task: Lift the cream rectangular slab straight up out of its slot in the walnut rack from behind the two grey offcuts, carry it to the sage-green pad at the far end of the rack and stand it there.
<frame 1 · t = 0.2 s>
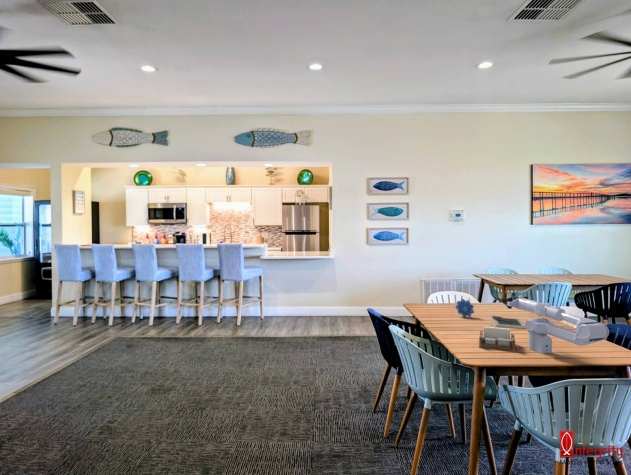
hand: (508, 300, 209), 21 cm above the table, tool horizontal, fingers open, 7 cm apart
rack: (496, 346, 198), on the table
cream rectangular slab: (496, 343, 200), point 1 cm above the table, touching rack
offcut b: (490, 347, 194), point 1 cm above the table, touching rack
offcut a: (503, 348, 192), point 1 cm above the table, touching rack
blue flower: (464, 317, 263), on the table
square clock: (507, 325, 246), on the table
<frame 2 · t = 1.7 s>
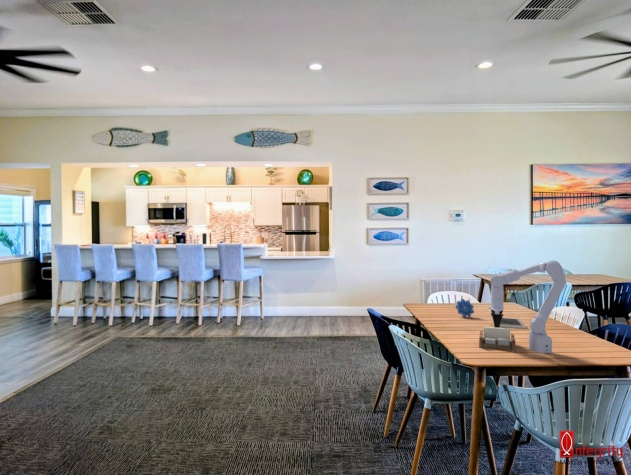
hand: (496, 325, 200), 10 cm above the table, tool pointing down, fingers open, 7 cm apart
nothing on the table moved.
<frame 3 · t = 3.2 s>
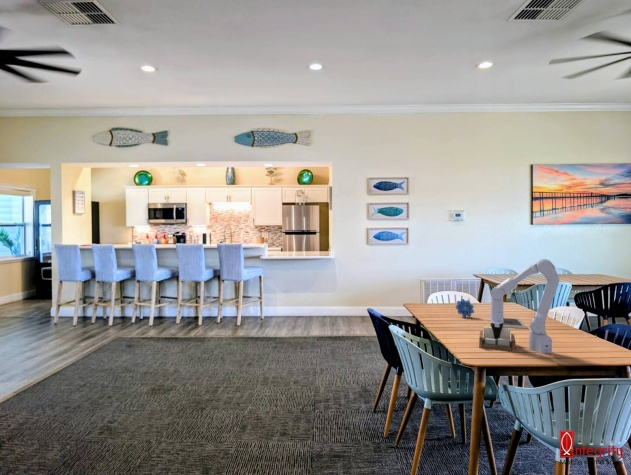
hand: (496, 338, 200), 4 cm above the table, tool pointing down, fingers closed on cream rectangular slab, 2 cm apart
cream rectangular slab: (496, 343, 200), point 1 cm above the table, touching gripper, rack
everything else where it was.
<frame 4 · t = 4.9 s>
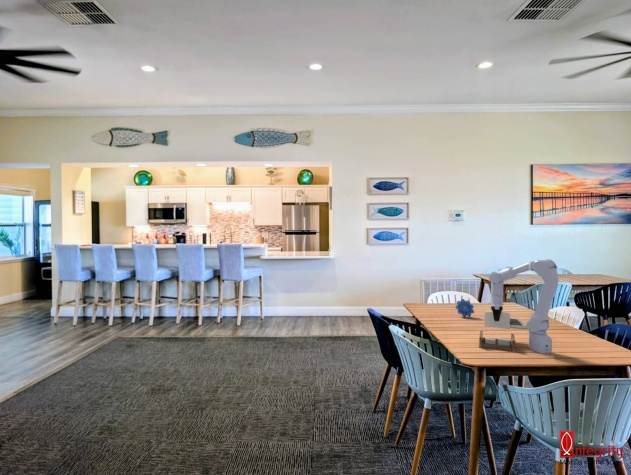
hand: (496, 320, 209), 10 cm above the table, tool pointing down, fingers closed on cream rectangular slab
cream rectangular slab: (496, 327, 209), point 7 cm above the table, touching gripper
everything else where it was.
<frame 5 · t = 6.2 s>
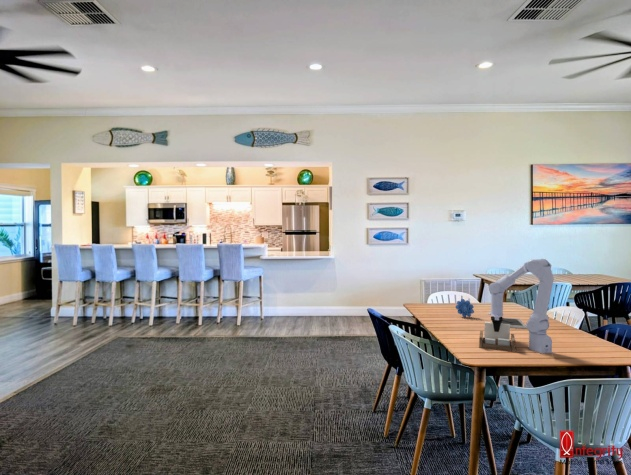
hand: (496, 331, 209), 5 cm above the table, tool pointing down, fingers closed on cream rectangular slab, 2 cm apart
cream rectangular slab: (496, 338, 209), point 1 cm above the table, touching gripper
everything else where it was.
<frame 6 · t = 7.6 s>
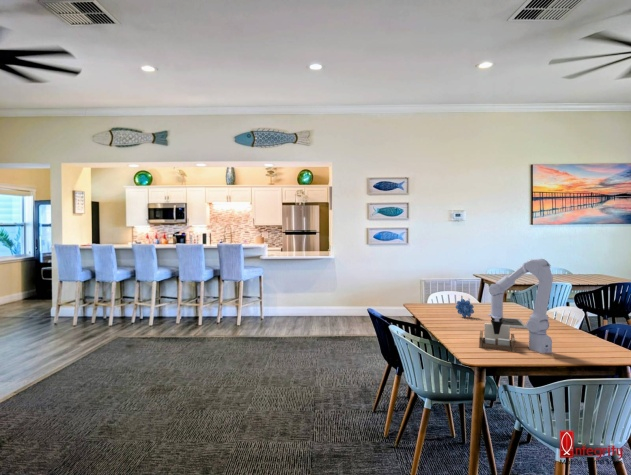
hand: (496, 332, 209), 4 cm above the table, tool pointing down, fingers open, 7 cm apart
cream rectangular slab: (496, 339, 209), resting on rack
everything else where it was.
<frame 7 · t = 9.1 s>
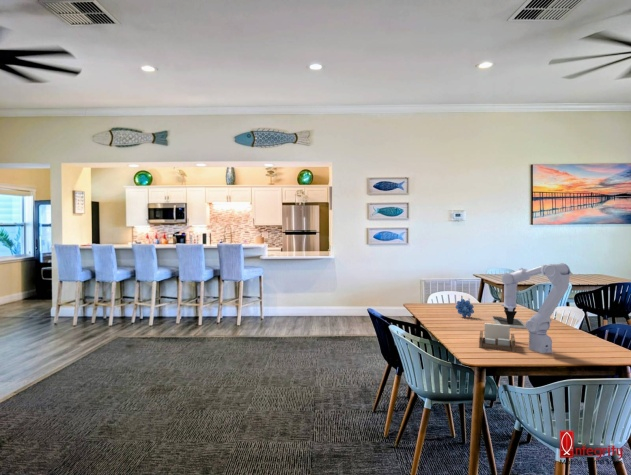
hand: (509, 322, 205), 10 cm above the table, tool pointing down, fingers open, 7 cm apart
nothing on the table moved.
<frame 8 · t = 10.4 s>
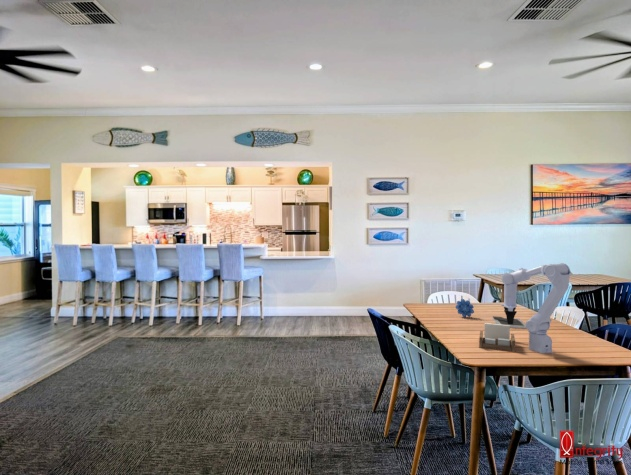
hand: (509, 322, 205), 10 cm above the table, tool pointing down, fingers open, 7 cm apart
nothing on the table moved.
at the end: cream rectangular slab 0.1 cm from the target spot, resting on rack; cream rectangular slab tilted 0°; offcut a moved 0.0 cm from its start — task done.
